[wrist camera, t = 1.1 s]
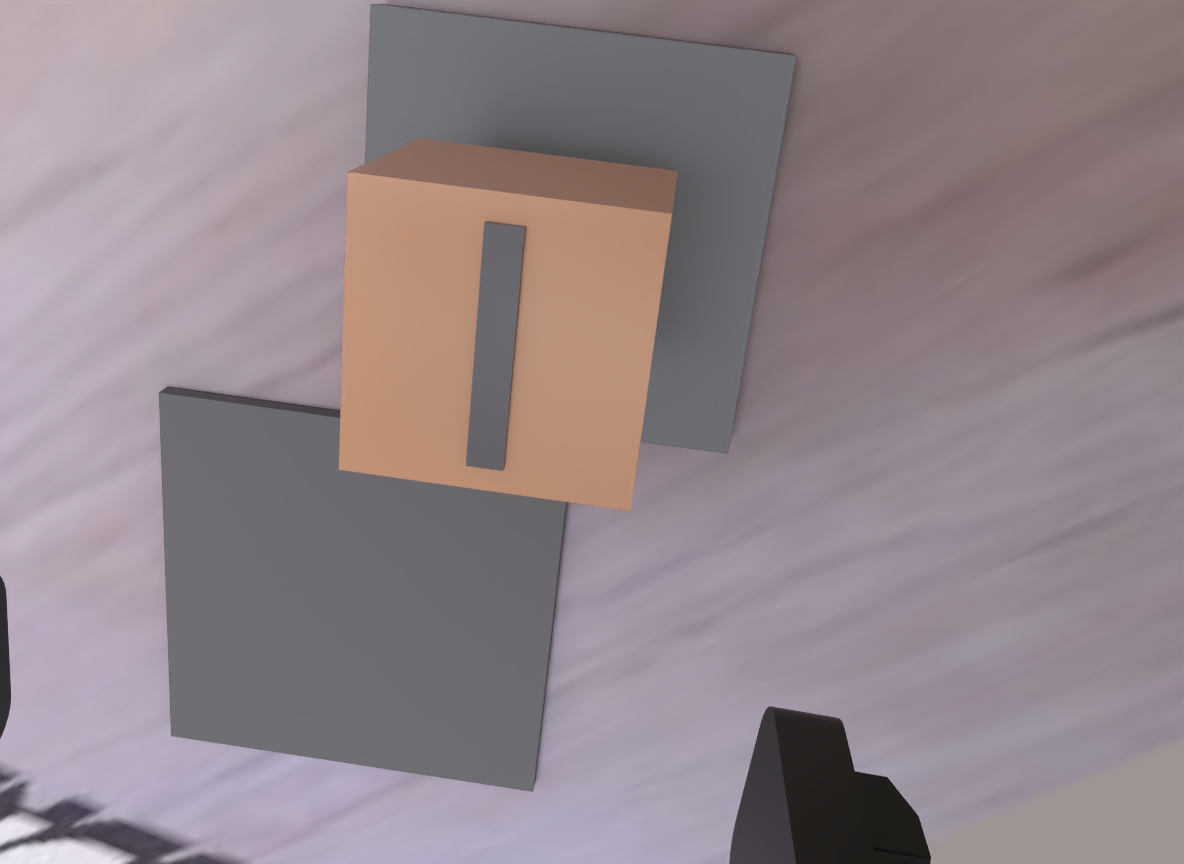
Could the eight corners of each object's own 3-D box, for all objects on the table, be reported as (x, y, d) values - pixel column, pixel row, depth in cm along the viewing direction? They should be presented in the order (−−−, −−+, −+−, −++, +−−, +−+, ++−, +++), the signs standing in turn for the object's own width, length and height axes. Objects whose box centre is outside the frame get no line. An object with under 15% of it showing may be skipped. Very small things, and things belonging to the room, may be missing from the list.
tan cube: (678, 170, 27) (671, 215, 21) (644, 414, 29) (630, 515, 23) (419, 138, 27) (344, 173, 21) (407, 382, 29) (335, 473, 24)
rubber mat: (573, 443, 37) (571, 450, 36) (535, 781, 42) (533, 791, 41) (166, 387, 37) (158, 392, 37) (178, 726, 43) (171, 735, 42)
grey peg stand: (791, 53, 32) (841, 78, 21) (727, 436, 36) (739, 627, 25) (384, 4, 32) (218, 2, 21) (369, 387, 37) (225, 552, 26)
